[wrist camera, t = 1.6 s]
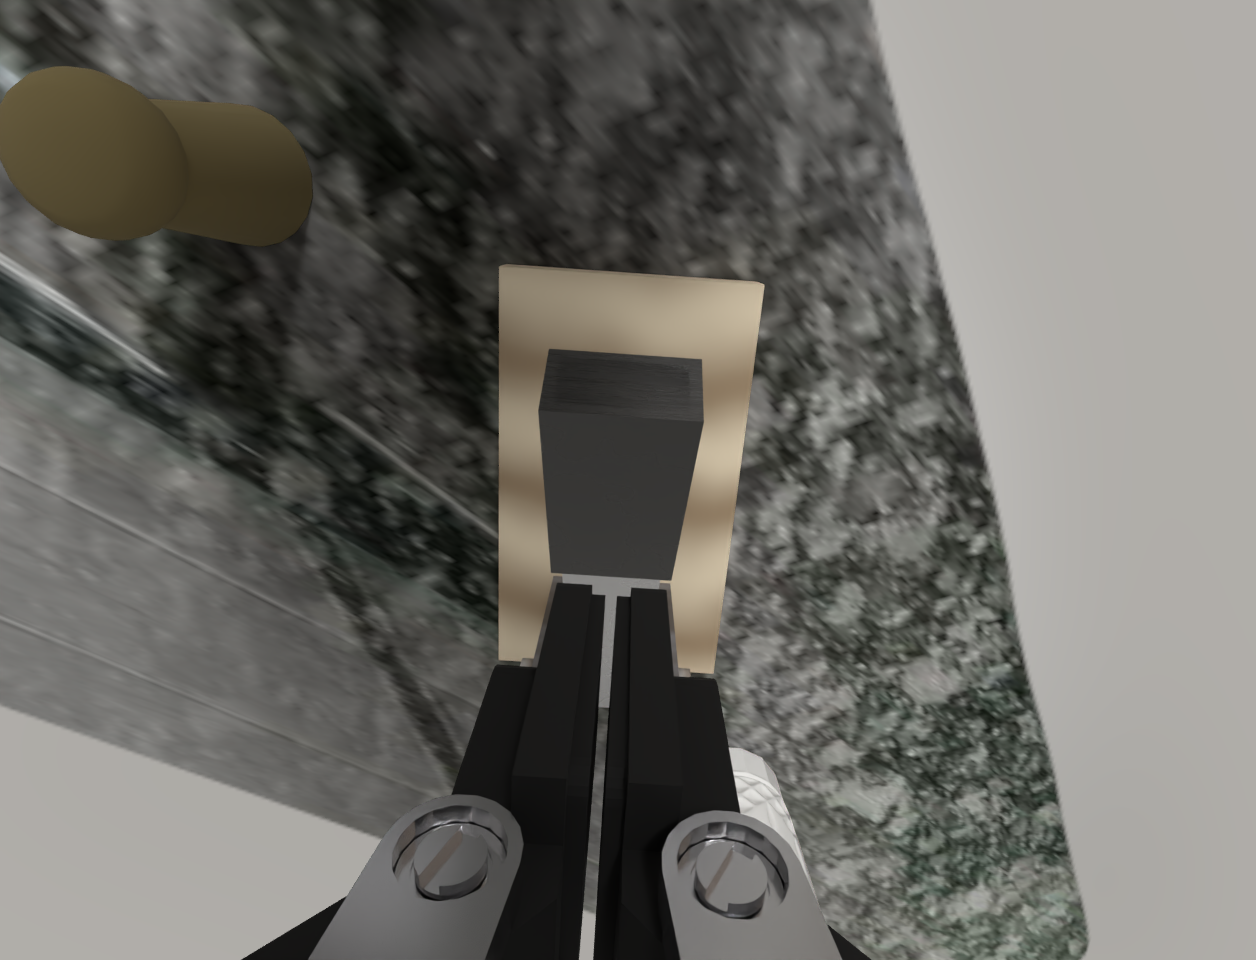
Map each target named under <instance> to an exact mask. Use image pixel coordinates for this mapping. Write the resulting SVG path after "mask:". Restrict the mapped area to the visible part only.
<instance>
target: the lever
mask: <svg viewBox="0 0 1256 960" xmlns="http://www.w3.org/2000/svg"><path fill="white" fill-rule="evenodd" d="M538 415H539V428H540V441H541V453H542V466H543V479H544V491H545V504H546V517H547V530H548V542H549V555H550V568H551V573H559V574H562V579H563V583H572V584H587V585H592V594H597V595H606V596H605V613H604V629H603V645H602V661H601V676H600V692H599V707H605V708H609V702H610V687H611V673H612V659H613V644H614V630H615V615H616V601H617V596H627V597H630V594H631V587H633V588H648V589H659V584H660V580H667V581H671V580H672V575H673V571H674V566H675V561H676V556H677V551H678V546H679V541H680V536H681V531H682V527H683V522H684V517H685V512H686V507H687V502H688V497H689V492H690V487H691V483H692V478H693V473H694V468H695V463H696V458H697V453H698V448H699V443H700V439H701V434H702V429H703V424H704V409H703V377H702V359H692V358H677V357H663V356H648V355H634V354H619V353H605V352H590V351H576V350H561V349H549V351H548V357H547V363H546V368H545V374H544V380H543V386H542V391H541V397H540V403H539V409H538Z"/></svg>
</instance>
